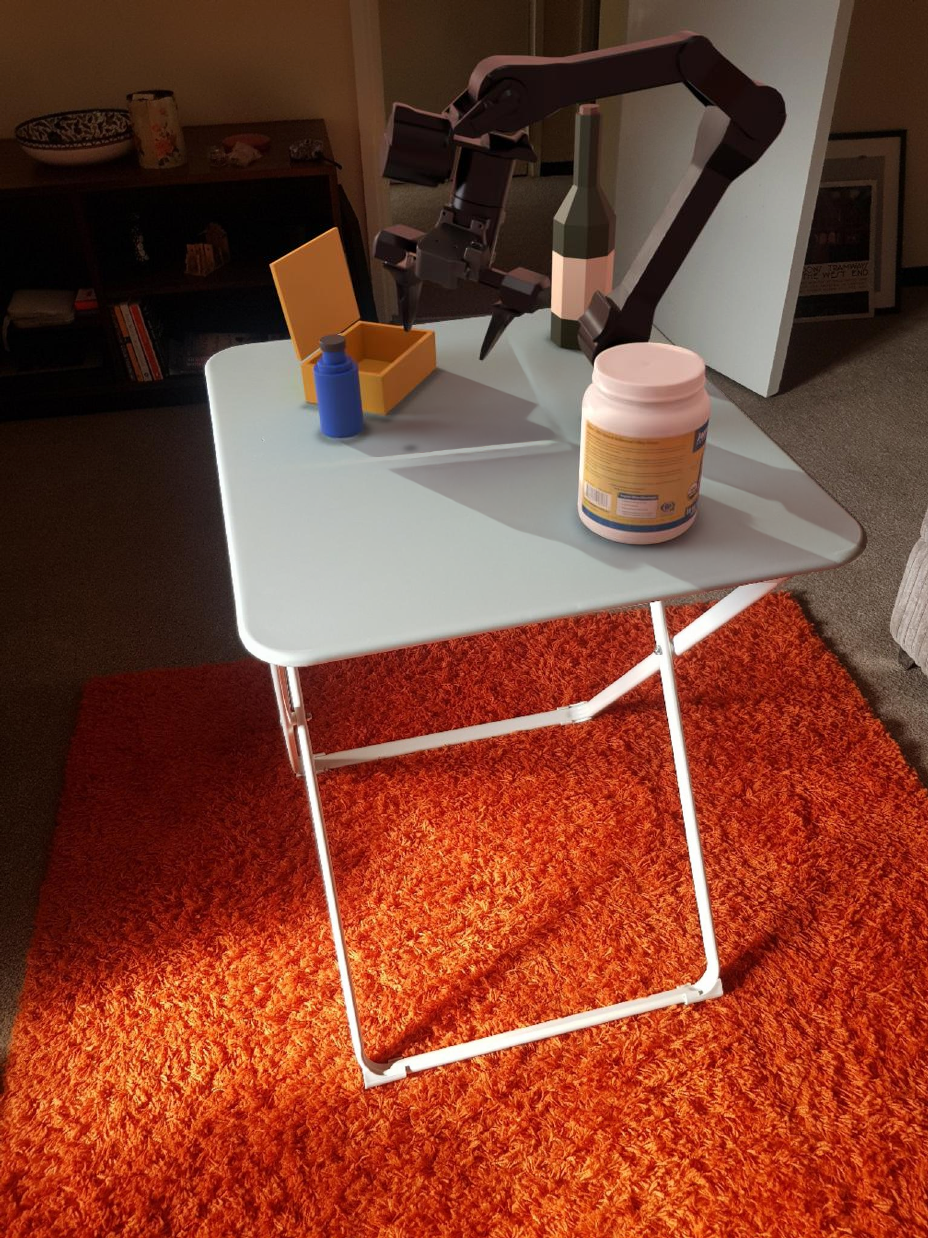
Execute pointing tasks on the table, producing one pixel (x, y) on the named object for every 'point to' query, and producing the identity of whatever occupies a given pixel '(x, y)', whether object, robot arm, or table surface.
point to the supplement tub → (643, 442)
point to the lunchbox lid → (315, 292)
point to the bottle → (338, 390)
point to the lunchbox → (382, 363)
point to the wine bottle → (582, 235)
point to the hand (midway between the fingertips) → (444, 345)
